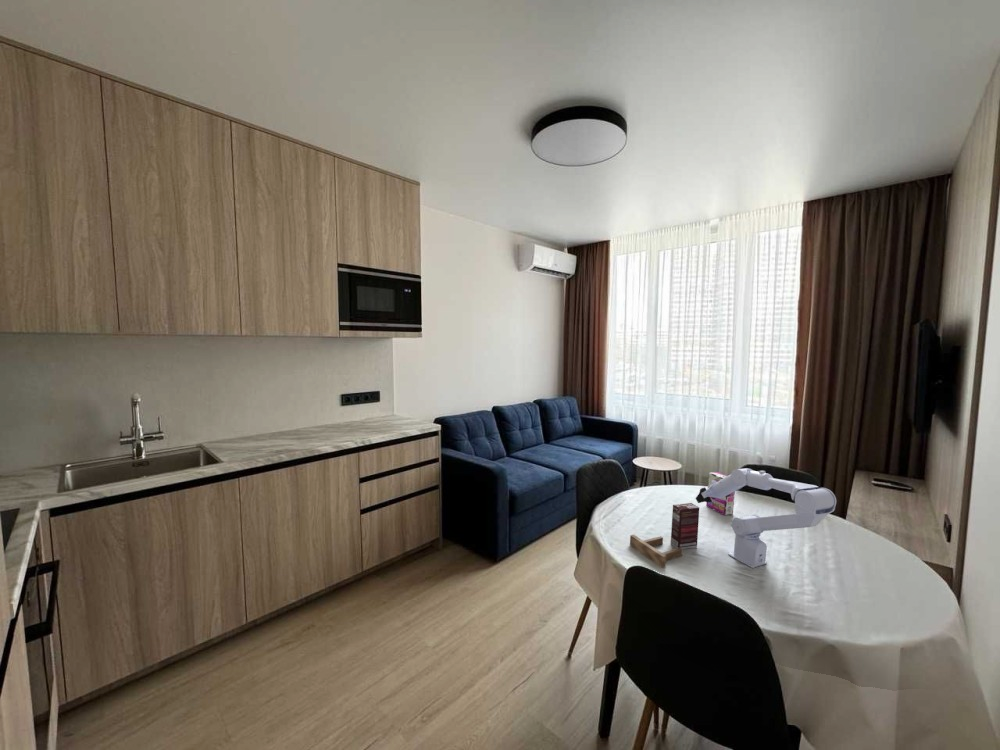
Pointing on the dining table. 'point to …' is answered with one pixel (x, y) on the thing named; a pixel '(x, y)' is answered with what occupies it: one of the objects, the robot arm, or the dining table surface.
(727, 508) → the candy bar box
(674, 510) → the supplement box
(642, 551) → the end holder
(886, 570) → the dining table surface
